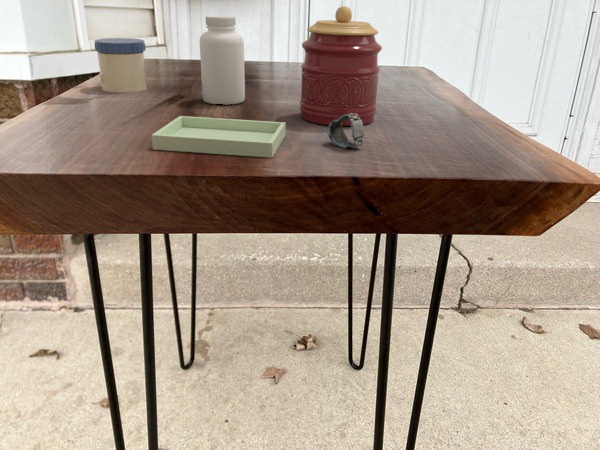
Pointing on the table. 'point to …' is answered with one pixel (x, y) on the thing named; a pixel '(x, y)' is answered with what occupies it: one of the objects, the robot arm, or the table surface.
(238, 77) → the pill bottle
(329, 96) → the kitchen canister
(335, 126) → the wristwatch
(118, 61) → the jar
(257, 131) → the tray
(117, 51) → the jar lid
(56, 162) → the table surface
